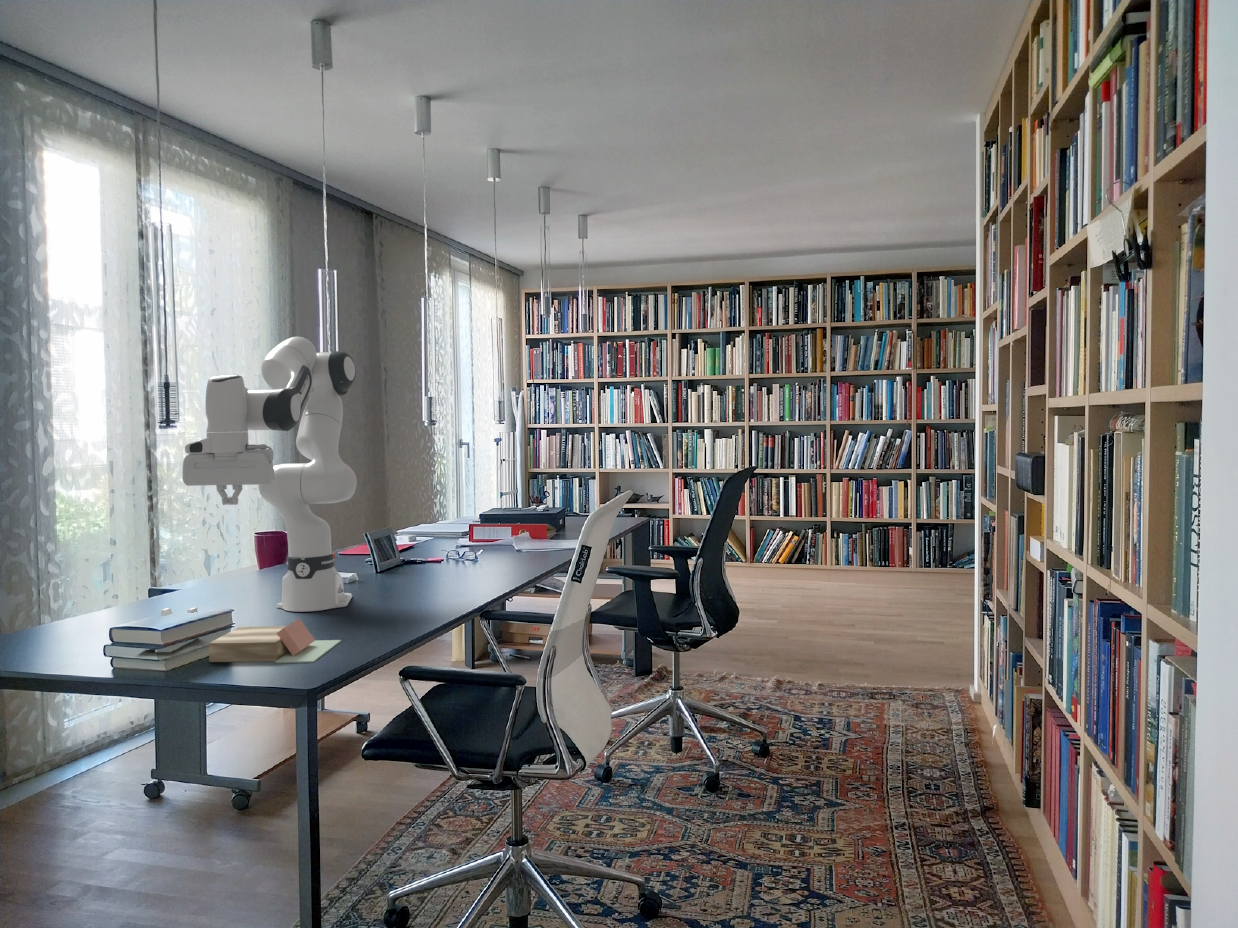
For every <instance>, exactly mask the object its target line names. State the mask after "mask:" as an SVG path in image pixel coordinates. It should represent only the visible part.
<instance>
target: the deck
mask: <svg viewBox="0 0 1238 928" xmlns="http://www.w3.org/2000/svg"><path fill="white" fill-rule="evenodd" d="M286 626H287V625H285V626H284V625H282V626H281V625H280V626H277V625H276V626H275V625H274V626H269V625H268V626H267V625H266V626H239V627H236V628H234V629H232V630H231V631H229V632H227V633H225V634H223V635H221V636H220V637H218V638H216V639H214V640H212V641H210V642H208V656H209V657H208V659H209V661H208V662H209V663H232V662H233V663H238V662H241V663H242V662H246V663H247V662H254V663H255V662H275V661H277V660H278V659H280V658H281V657H283V656H284V655H286V654H287V653H289V652H290V651H289V650H288V648H287V647H286V646H285V644H284V643H283V641H282V640H281V639H280V637H279V636H278V635H277V632H279V631H280V630H282V629H283V628H285V627H286Z"/></svg>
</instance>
